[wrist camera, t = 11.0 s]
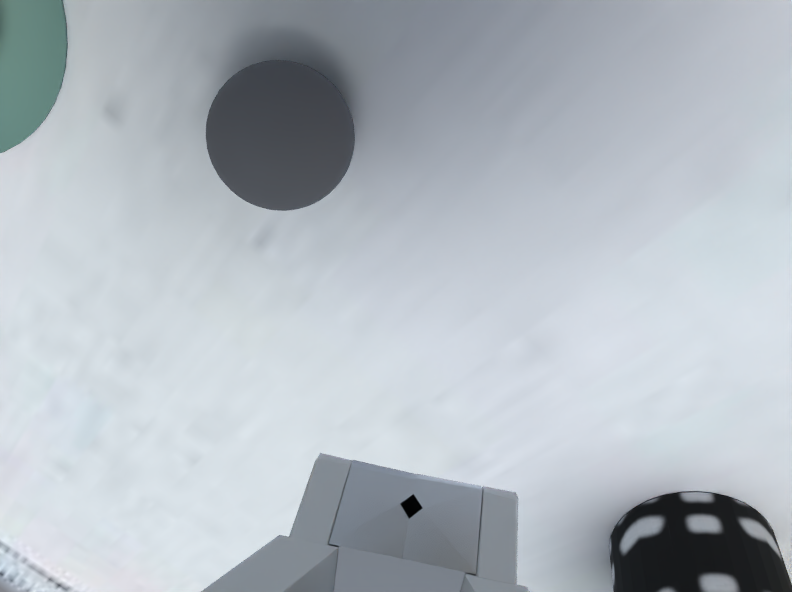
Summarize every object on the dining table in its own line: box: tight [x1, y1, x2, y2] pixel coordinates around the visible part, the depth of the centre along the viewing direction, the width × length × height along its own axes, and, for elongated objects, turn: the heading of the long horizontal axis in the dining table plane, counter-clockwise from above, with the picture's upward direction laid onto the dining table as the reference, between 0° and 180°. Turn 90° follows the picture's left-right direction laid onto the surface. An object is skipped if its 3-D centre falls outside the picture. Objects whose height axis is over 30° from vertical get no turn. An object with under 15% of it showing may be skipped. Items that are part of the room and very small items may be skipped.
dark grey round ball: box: [206, 60, 355, 211], centre depth 28 cm, size 6×6×6 cm
